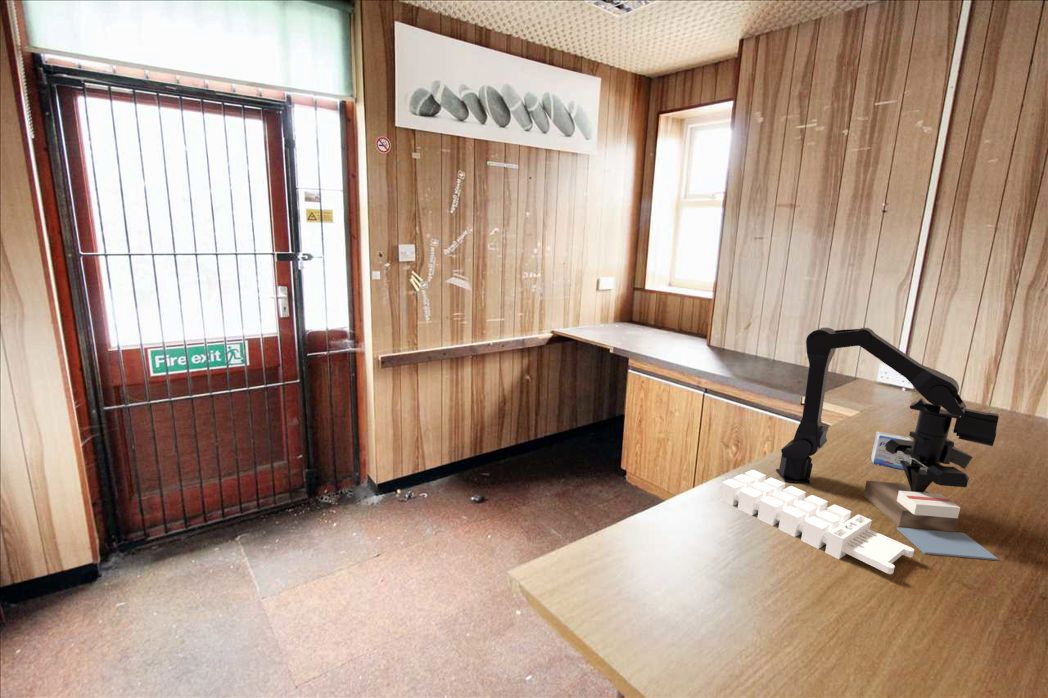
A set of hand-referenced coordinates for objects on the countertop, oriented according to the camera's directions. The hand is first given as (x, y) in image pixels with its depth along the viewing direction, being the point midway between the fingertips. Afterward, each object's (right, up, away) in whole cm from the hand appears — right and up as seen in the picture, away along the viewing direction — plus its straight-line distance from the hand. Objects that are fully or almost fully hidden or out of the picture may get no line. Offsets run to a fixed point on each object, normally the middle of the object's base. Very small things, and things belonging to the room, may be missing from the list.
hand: (916, 496), depth 118 cm
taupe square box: (0, -4, +3) cm, 5 cm away
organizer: (-28, -6, -6) cm, 29 cm away
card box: (-1, -2, -4) cm, 4 cm away
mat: (-1, -7, -10) cm, 12 cm away
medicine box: (+14, +1, +29) cm, 32 cm away
